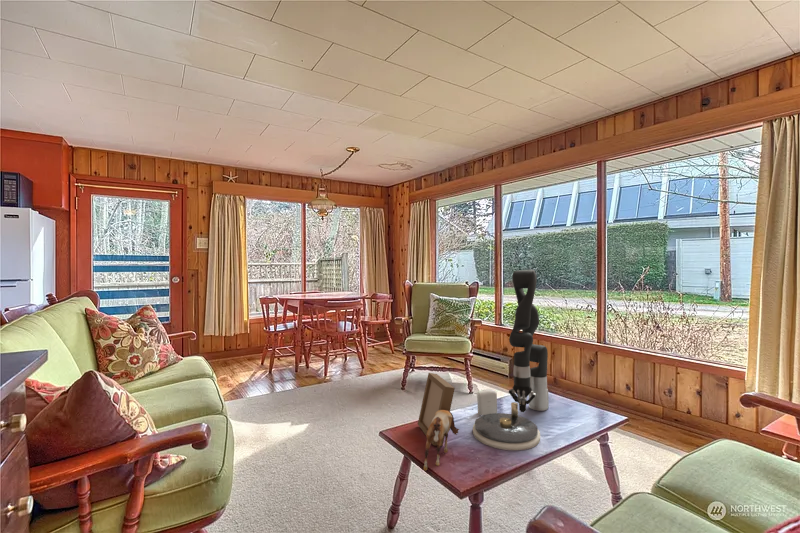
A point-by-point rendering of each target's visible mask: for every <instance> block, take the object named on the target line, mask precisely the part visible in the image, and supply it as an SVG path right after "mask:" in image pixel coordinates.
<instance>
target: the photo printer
mask: <svg viewBox="0 0 800 533" xmlns="http://www.w3.org/2000/svg"><path fill="white" fill-rule="evenodd" d="M476 394H477V395H476V398H477V415H479V416H483V415H486V414H493V413H498V396H497V391H496V390H495V389H492V388H484V389H481V390H479V391H477V393H476Z"/></svg>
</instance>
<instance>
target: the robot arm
mask: <svg viewBox="0 0 800 533" xmlns="http://www.w3.org/2000/svg"><path fill="white" fill-rule="evenodd" d="M537 277H538V276H537V274H536V271H535V270H534V269H523V270H514V271H513V272H512V283H513V288H514V292H515V295H516V296H515V297H516V300H517V307H516V308H515V316H514V324H513V327H512V330H511V332H510V334H509V335H510V336H509V339H508V340H509V344H510V345H511V347H513V348H523V350H521V351H517V352H514V354H513V373H512V374H513V386H512V388H511V389H509V390H508V394H509V395H510V396H511V398H512V399H513V401H514V402H515V403H518V411H520V413H525V412H526V411H527V405H528V408H529V409H531V410H534V411H540V412H541V411H542V412H544V411H547V410H548V408H549V406H550V405H549V401H550V400H549V389H548V359H549V358H548V355H549V354H548V348H547V346H545V345H541V344H535V343H534V334H535V332H536V330H537V329H538V327H539V325H540V317H539V313H538V311H539V310H538V309H537V307H536V306H535V305H534V304H533V301H534V297H535V294H536V293H535V292H536V287H537V283H538V282H537V281H538V280H537ZM524 289H527V291H526V292H524V291H525V290H524ZM533 343H534V344H533ZM530 362H531V363H538V365H537V366H535V367H531V366H530V364H531V363H530Z"/></svg>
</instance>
